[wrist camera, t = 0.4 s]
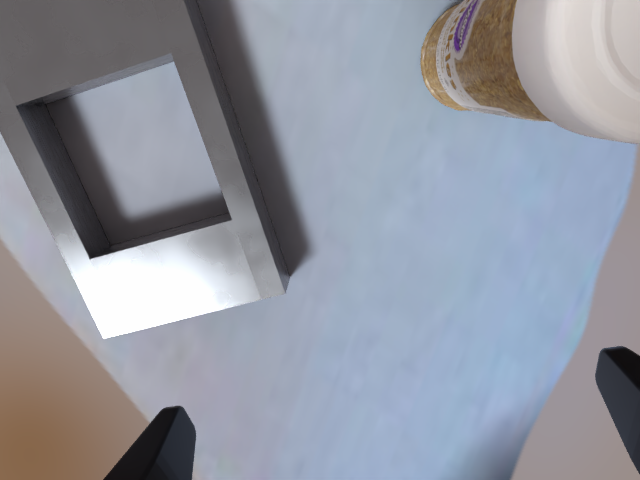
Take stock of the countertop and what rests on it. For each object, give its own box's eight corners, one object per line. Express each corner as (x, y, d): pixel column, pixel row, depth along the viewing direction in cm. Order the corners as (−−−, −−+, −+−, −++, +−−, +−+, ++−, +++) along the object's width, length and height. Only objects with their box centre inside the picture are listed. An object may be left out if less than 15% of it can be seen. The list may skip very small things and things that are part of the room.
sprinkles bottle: (424, 0, 19) (587, -184, 6) (531, 4, 19) (923, -179, 6) (413, 110, 20) (527, 142, 8) (512, 114, 20) (795, 154, 8)
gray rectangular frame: (290, 277, 23) (285, 293, 22) (122, 319, 25) (103, 338, 23) (177, -56, 19) (158, -72, 17) (-23, 19, 20) (-61, 11, 18)
